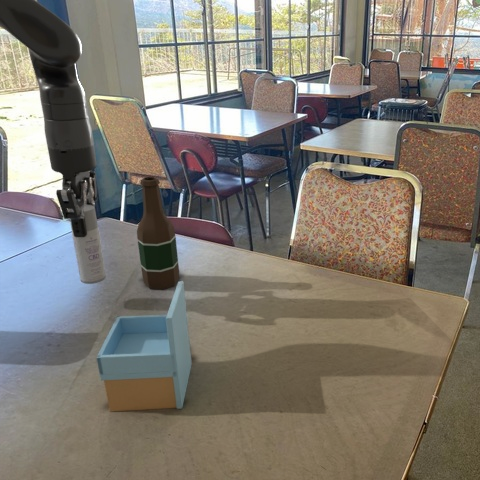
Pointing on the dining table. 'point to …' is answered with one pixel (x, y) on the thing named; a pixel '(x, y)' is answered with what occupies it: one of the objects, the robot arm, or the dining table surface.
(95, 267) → the container
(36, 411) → the dining table surface
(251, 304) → the dining table surface
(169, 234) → the beer bottle
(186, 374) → the blue and tan box
